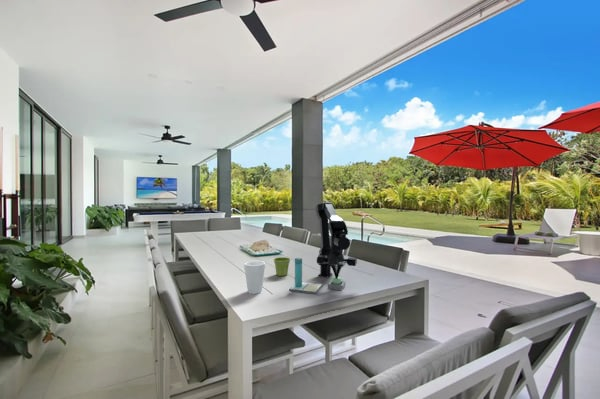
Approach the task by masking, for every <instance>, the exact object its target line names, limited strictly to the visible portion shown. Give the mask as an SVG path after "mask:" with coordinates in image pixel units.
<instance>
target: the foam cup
mask: <svg viewBox="0 0 600 399" xmlns="http://www.w3.org/2000/svg"><path fill="white" fill-rule="evenodd" d="M243 265H244V266H243V268H244V272H245V281H246V288H247V293H248V292H249V293H248V294H250V293H253V294H252V295H257V293H258V294H261V293H262V292H263V285H264V278H265V270H266V262H265V261H263V260H262V261H261V260H251V261H247V262H244V264H243Z"/></svg>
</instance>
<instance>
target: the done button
mask: <svg viewBox="0 0 600 399" xmlns="http://www.w3.org/2000/svg"><path fill="white" fill-rule="evenodd" d="M331 280H332V284H338V285H341V281H342V277H340V276H338V278H335V276H331Z"/></svg>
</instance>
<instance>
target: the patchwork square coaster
mask: <svg viewBox="0 0 600 399" xmlns="http://www.w3.org/2000/svg"><path fill="white" fill-rule="evenodd" d="M323 287H324V284H323V283H313V282H304V281H302V287H295V284H293V285H292V286H291V287H290V288H289V290H288V291H289V292H294V293H295V292H296V293H305V294H311V295H312V294H313V295H317V294H318V293H319V292H320V290H321V289H322V288H323Z"/></svg>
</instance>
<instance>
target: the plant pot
mask: <svg viewBox="0 0 600 399" xmlns="http://www.w3.org/2000/svg"><path fill="white" fill-rule="evenodd" d="M273 261H274V265H275V274H276V276H278V277H284V276H288V273H289V265H290V261H291V258H290V257H286V256H285V257H284V256H283V257H282V256H280V257H279V256H278V257H274V258H273Z"/></svg>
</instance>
